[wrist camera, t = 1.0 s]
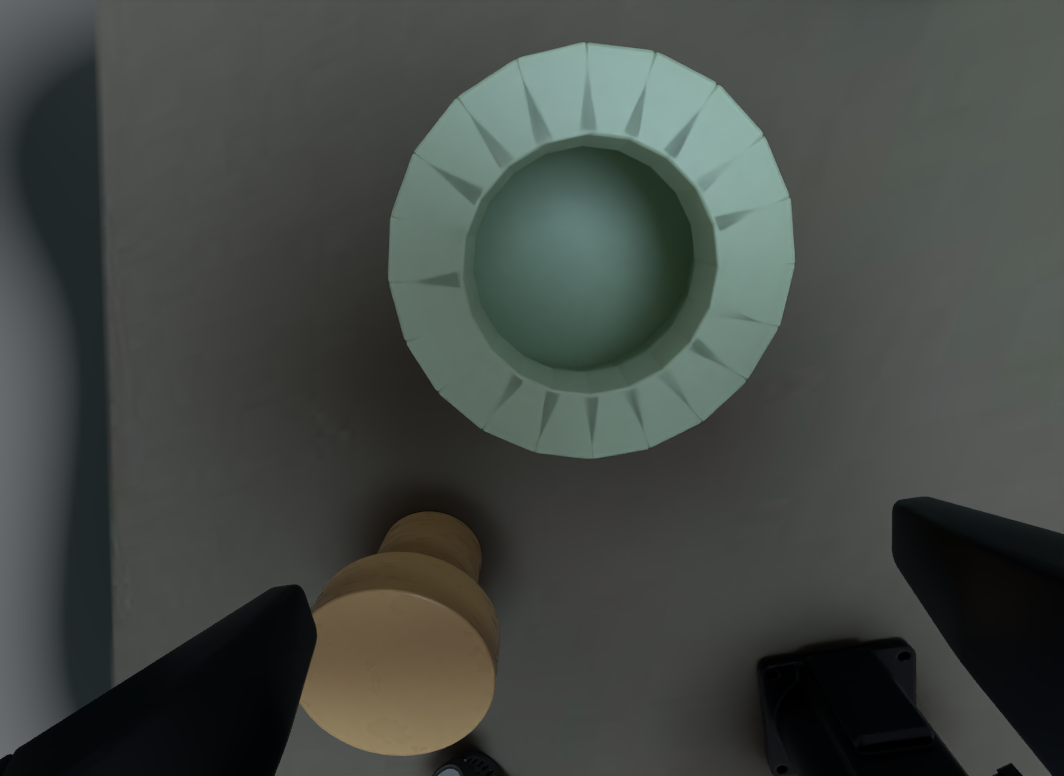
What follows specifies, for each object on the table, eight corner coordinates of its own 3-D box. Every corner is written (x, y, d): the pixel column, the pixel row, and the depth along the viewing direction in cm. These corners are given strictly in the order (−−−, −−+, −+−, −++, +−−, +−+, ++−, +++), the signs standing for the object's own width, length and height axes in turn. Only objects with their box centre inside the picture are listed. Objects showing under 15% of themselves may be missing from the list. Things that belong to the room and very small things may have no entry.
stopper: (522, 606, 24) (515, 742, 18) (380, 628, 25) (325, 769, 18) (489, 473, 22) (468, 574, 16) (336, 501, 23) (258, 608, 16)
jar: (714, 350, 20) (806, 421, 13) (477, 395, 21) (444, 486, 14) (684, 82, 18) (778, -6, 11) (415, 144, 19) (336, 100, 11)
